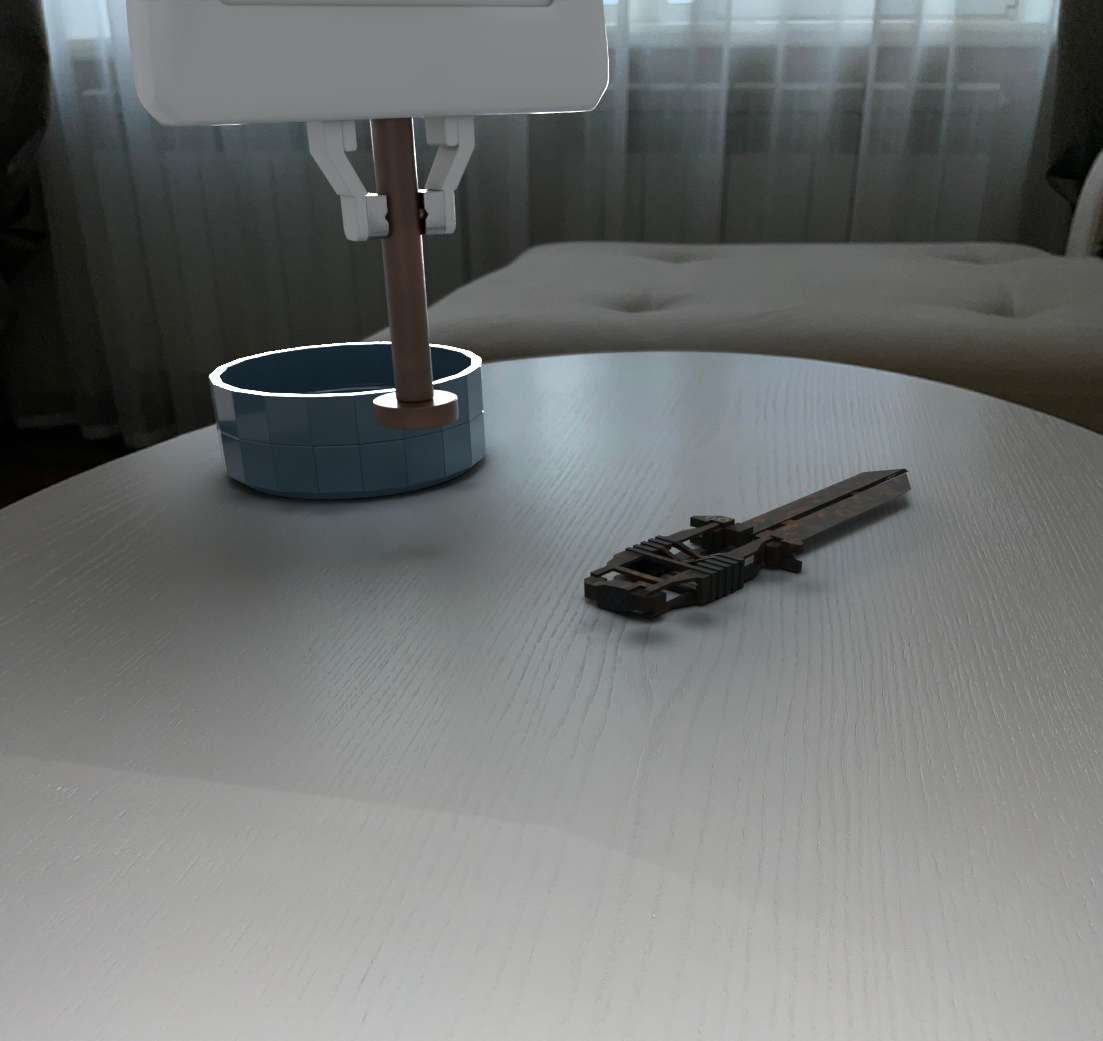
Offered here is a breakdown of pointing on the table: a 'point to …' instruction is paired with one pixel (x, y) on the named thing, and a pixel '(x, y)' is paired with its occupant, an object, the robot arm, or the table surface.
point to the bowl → (340, 422)
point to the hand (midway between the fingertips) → (400, 236)
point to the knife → (721, 532)
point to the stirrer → (406, 287)
